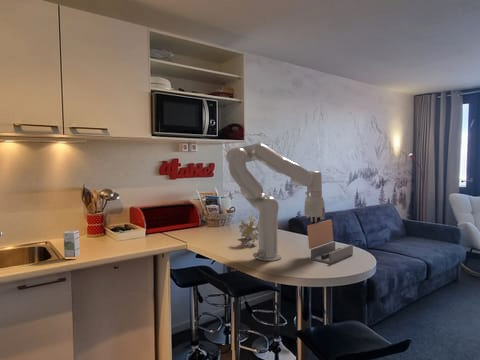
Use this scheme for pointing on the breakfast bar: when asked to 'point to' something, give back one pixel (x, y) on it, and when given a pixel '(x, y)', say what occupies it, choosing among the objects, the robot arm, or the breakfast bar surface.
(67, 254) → the syrup box
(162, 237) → the breakfast bar surface
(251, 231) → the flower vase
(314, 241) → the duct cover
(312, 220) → the robot arm
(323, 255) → the grey plastic bar
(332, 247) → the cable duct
